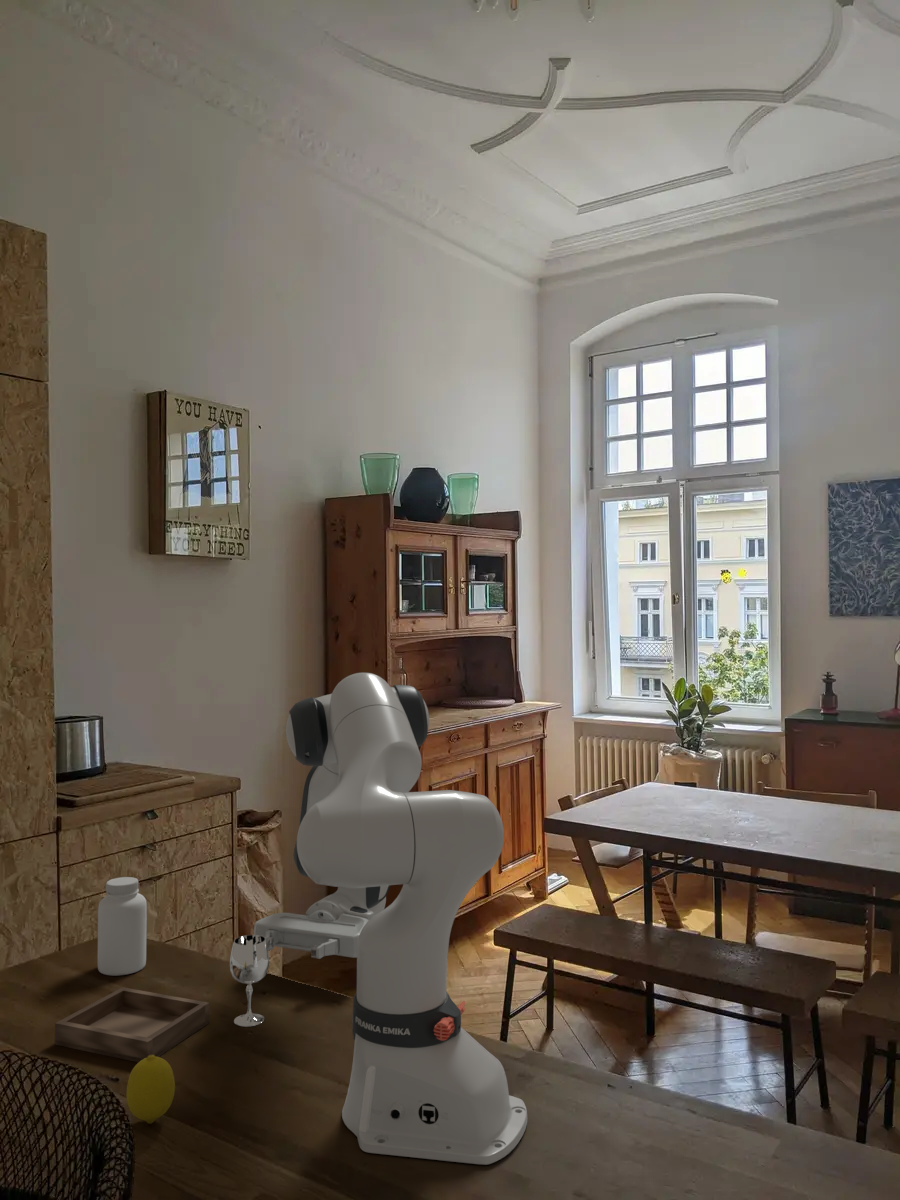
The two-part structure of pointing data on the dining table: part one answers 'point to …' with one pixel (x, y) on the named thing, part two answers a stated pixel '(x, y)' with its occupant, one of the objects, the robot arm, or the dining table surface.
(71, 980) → the dining table surface
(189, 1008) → the tray
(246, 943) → the wineglass
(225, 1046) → the dining table surface
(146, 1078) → the lemon
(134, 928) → the pill bottle
